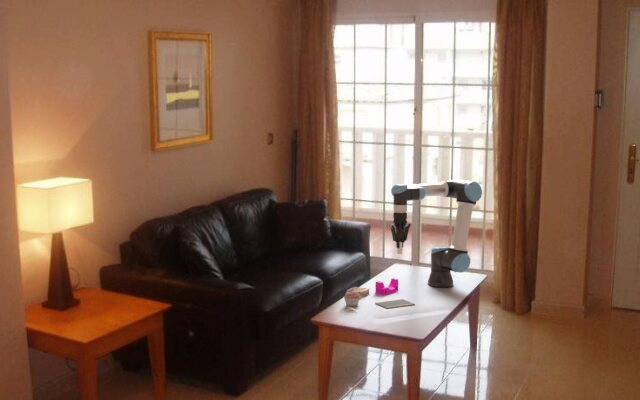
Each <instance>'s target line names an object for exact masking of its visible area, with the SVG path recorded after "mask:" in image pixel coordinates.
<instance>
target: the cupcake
mask: <svg viewBox="0 0 640 400" xmlns="http://www.w3.org/2000/svg"><path fill="white" fill-rule="evenodd" d="M353 288H354V287H350V288H349V289H347V290H348V292H347V291H346V292H345V293H344V294H345V295H344V296H343V298H344V302H345V305H346V306H347V307H351V308H352V307H354V308H355V307H357V306H359V301H360V299H361V298H360V296H359V293H358V292H357V291H356V290H355V289H353Z"/></svg>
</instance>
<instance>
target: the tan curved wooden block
mask: <svg viewBox="0 0 640 400" xmlns="http://www.w3.org/2000/svg"><path fill="white" fill-rule="evenodd" d="M352 288H353V289H355V290H356V291H357V292H358V293H359V296H360V299H362V298H364V297H366V296H368V295H370V288H367V287H360V286H358V287H357V286H354V287H352ZM348 290H349V289H347V290H346V292H348Z"/></svg>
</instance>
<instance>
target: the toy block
mask: <svg viewBox="0 0 640 400" xmlns="http://www.w3.org/2000/svg"><path fill="white" fill-rule="evenodd" d="M374 290H375V292H374V293H375V294H378V295H381V296H385V295H389V294H393V293H397V292H396V291H399V278H391V279H390V282H389V284H388V285H387V286H385V284H384V281H380V280H378V281H375V289H374Z"/></svg>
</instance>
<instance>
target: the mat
mask: <svg viewBox="0 0 640 400" xmlns="http://www.w3.org/2000/svg"><path fill="white" fill-rule="evenodd" d="M374 303H375V305H377V306H379V307H382V308H383V309H387V310H388V309H389V310H390V309H396V308H402V307H408V306H415V303H414V302H411V301H408V300H406V299H404V298H400V299H393V300H386V301H378V302H374Z"/></svg>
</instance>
